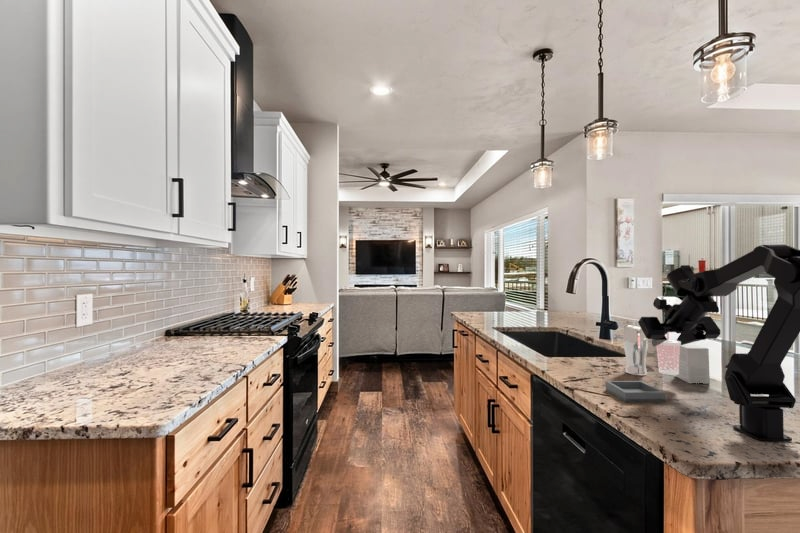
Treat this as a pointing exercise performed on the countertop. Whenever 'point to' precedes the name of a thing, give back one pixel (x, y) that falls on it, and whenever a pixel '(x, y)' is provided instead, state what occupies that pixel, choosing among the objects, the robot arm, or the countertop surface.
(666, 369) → the beverage cup
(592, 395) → the countertop surface
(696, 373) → the small box
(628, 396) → the tray
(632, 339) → the beer glass
